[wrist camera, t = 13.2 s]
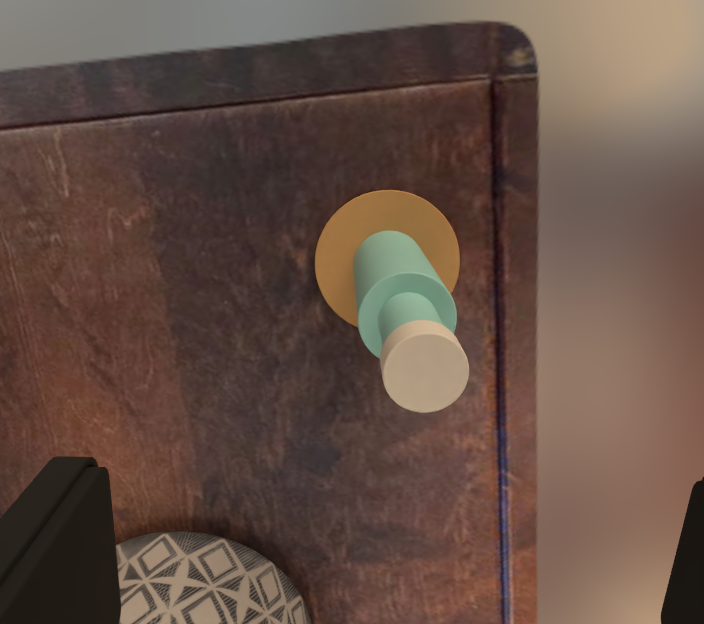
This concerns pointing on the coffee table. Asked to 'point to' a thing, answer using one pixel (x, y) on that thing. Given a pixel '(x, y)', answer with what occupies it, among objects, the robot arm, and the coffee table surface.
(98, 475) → the robot arm
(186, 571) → the planter
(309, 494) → the coffee table surface
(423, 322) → the bottle
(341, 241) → the coaster
